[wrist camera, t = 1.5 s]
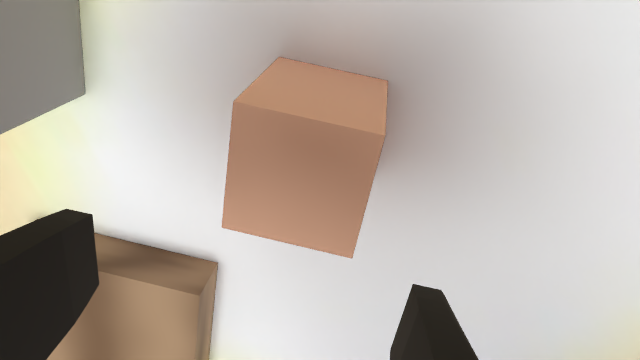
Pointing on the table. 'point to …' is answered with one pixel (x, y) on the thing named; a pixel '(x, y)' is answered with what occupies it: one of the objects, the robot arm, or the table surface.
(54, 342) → the robot arm
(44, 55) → the medium grey block
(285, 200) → the terracotta block
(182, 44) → the table surface
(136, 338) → the walnut slab
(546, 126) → the table surface
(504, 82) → the table surface
